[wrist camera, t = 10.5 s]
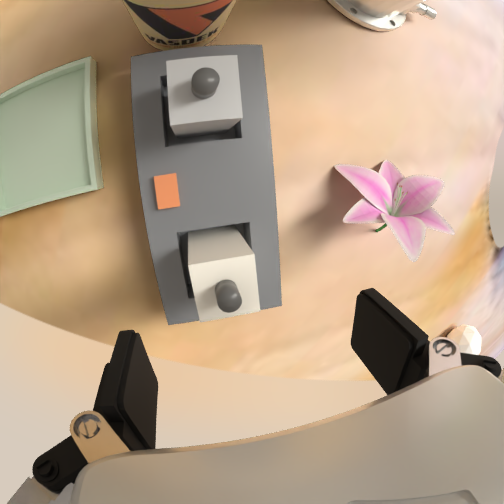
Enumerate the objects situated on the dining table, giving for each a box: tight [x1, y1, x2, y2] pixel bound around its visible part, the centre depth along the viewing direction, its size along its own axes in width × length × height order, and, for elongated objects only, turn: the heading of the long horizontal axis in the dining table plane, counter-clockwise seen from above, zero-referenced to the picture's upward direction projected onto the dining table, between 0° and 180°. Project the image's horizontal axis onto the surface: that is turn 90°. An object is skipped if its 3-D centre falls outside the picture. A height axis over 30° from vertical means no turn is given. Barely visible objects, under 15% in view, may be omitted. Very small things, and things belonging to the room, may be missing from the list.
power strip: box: [131, 45, 282, 325], centre depth 21 cm, size 22×10×4 cm, turn 5°
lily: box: [334, 160, 455, 262], centre depth 24 cm, size 12×12×10 cm
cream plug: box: [188, 225, 260, 322], centre depth 20 cm, size 4×4×10 cm
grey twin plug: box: [166, 55, 243, 138], centre depth 16 cm, size 4×4×10 cm
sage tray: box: [0, 56, 104, 217], centre depth 17 cm, size 12×12×2 cm
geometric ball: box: [447, 324, 481, 355], centre depth 36 cm, size 8×8×8 cm
